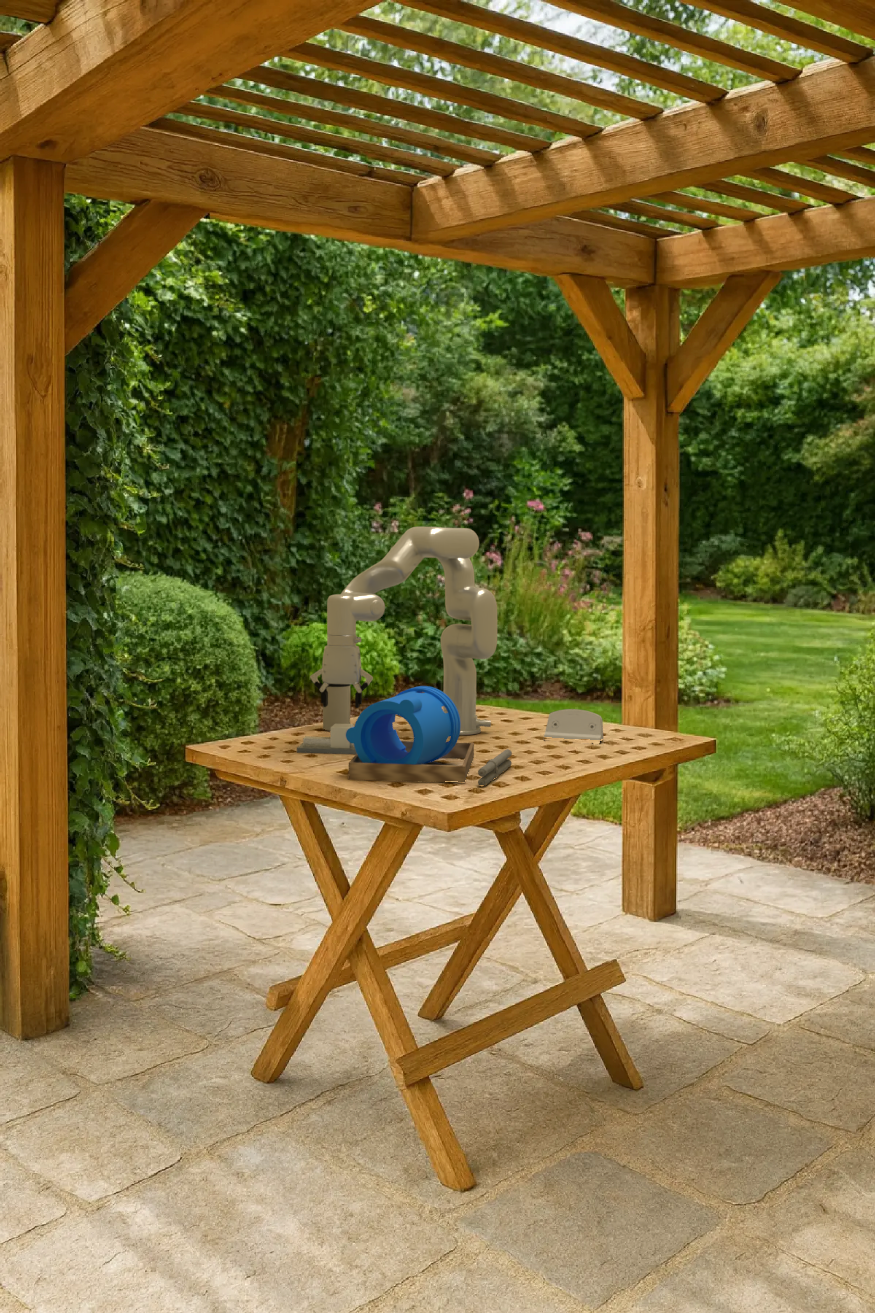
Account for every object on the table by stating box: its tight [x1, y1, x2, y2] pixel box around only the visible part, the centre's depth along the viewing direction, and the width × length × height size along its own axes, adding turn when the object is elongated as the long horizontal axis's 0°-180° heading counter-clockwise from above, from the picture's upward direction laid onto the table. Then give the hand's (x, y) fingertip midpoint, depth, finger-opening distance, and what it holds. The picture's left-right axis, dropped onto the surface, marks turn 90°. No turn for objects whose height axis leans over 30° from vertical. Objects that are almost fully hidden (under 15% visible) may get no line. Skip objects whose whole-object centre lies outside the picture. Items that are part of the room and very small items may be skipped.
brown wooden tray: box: [348, 740, 475, 783], centre depth 300 cm, size 28×32×4 cm
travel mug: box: [322, 681, 351, 732], centre depth 354 cm, size 8×8×18 cm
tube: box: [346, 685, 461, 765], centre depth 298 cm, size 25×22×19 cm
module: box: [330, 723, 354, 748], centre depth 322 cm, size 5×6×5 cm
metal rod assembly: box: [477, 748, 513, 786], centre depth 291 cm, size 26×3×5 cm, turn 163°
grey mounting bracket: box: [543, 708, 604, 740], centre depth 342 cm, size 17×5×10 cm, turn 72°
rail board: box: [296, 735, 357, 755], centre depth 323 cm, size 22×10×3 cm, turn 85°
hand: (341, 706), depth 322 cm, fingers open, 8 cm apart
